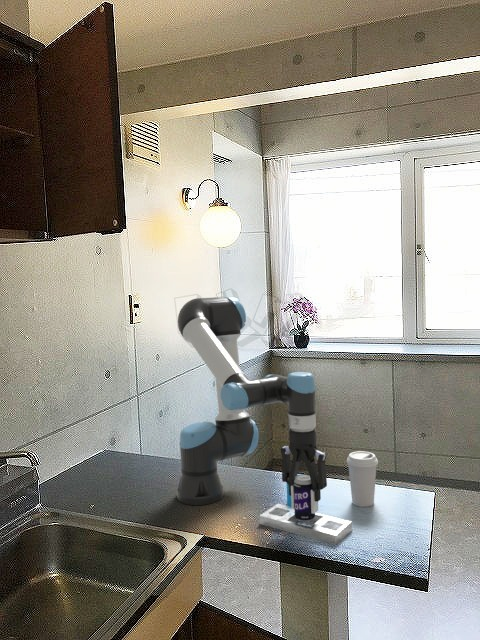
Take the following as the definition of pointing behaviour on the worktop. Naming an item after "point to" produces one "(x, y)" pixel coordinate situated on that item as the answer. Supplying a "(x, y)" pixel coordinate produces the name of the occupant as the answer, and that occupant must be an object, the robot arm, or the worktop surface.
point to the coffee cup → (362, 477)
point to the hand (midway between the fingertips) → (304, 509)
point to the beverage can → (303, 498)
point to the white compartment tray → (321, 530)
